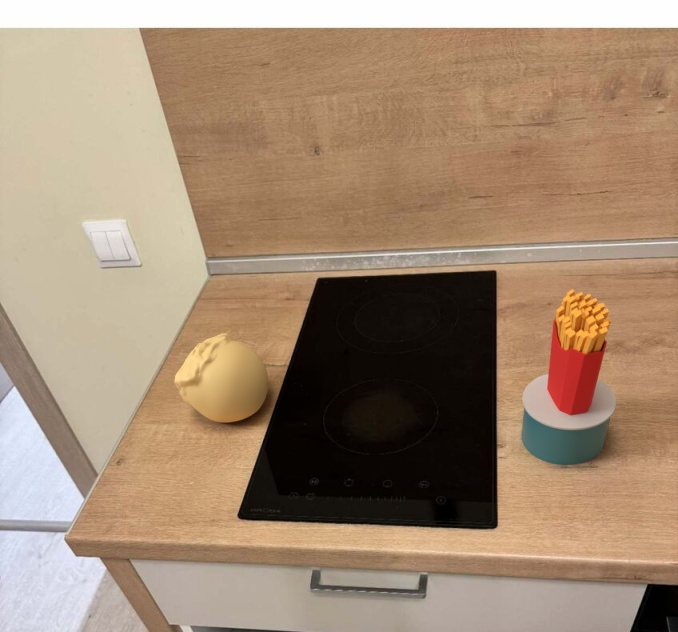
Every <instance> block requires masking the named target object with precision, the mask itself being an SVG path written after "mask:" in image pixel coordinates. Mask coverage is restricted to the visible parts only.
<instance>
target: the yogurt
mask: <svg viewBox="0 0 678 632" xmlns="http://www.w3.org/2000/svg"><path fill="white" fill-rule="evenodd" d="M548 374H549V373H545V374H542V375H540V376H538V377H536V378H534V379H533V380H531V381H530V382H529V383H528V384H527V385H526V386H525V388H524V389H523V392H522V399H521V401H522V406H523V414H522V426H521V435H520V436H521V437H520V439H521V442H522V444H523V446H524V448H525V449H526V450H527V451H528V452H529V453H530V455H532V456H533V457H535V458H537V459H539V460H541V461H543V462H546V463H549V464H552V465H558V466H559V465H560V466H574V465H580V464H583V463H587V462H589V461H591V460H593V459H594V458H596V457H597V456H598V455H600V453H601V452H602V450H603V449H604V446H605V442H606V437H607V434H608V429H609V425H610V420H611V417H612V416H613V414H614V413H615V410H616V407H617V397H616V394H615V393H614V391H613V389H612V388H611V386H609V385H608V384H607V383H606V382H605V381H603V380H601V379H599V378H598V380H597V384H596V388H595V392H594V395H593V399H592V403H591V406H590V408H589V410H588V412H587V413H581V414H576V415H568V414H566V413H564V412H561V411H559V410H558V408H557V407H556V405H555V403H554V402H553V400H552V398H551V396H550V394H549V392H548V390H547V385H548Z"/></svg>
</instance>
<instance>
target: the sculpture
mask: <svg viewBox="0 0 678 632" xmlns="http://www.w3.org/2000/svg"><path fill="white" fill-rule="evenodd" d="M173 381H174V385H175V387H176V388H177V389H178V391H179V395H180V397H182V400H183V402H184V403H187V404H189V405H190V406H191V407H192V408H194V409H195V410H196V411H197V412H198V413H199V414H201V415H202V416H203V417H205V418H206V419H208V420H211V421H213V422H217V423H234V422H239V421H242V420H246V419H247V418H250V417H251V416H253V415H254V414H255V413H257V412H258V411H259V410H260V409H261V408H262V406H263V405H264V402H265V400H266V398H267V395H268V391H269V390H268V389H269V375H268V370H267V367H266V365H265V363H264V361H263V359H262V358H261V356H260V355H259V353H257V351H255V350H254V349H253V348H251V347H250V346H249V345H246V344H245V343H244V342H243V343H242V342H240V341H237V340H234V339H232V337H231V335H230V334H229V333H227V332H222V333H219V334H217V335H215V336H213V337H210V338H206V339H205V340H203V341H201V342H198V343H197V344H196V345H195V346H194V348H193V349H192V350H191V351H190V352H189V354H188V355H187V357H186V358H185V360H184V362H183V364H182V365H181V367H180V368H179V370H178V371H177V372H176V374H175V376H174V380H173Z"/></svg>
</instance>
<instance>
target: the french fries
mask: <svg viewBox="0 0 678 632" xmlns="http://www.w3.org/2000/svg"><path fill="white" fill-rule="evenodd" d="M575 292H576V291H575V290H574V289H573V288H571V289H570V290H569V291H568V292H566V296H565V297H563V298H562V302H561V305H560V306H559V307H558V308H557V309H556V311H555V318H554V320H553V322H552V333H551V342H550V354H549V365H548V373H547V374H548V385H547V390H548V392H549V394H550V396H551V398H552V400H553V402H554V403H555V405H556V407H557V408H558V410H559V411H561V412H564V413H566V414H568V415H576V414H581V413H587V412H588V410H589V408H590V406H591V403H592V399H593V395H594V392H595V388H596V384H597V380H598V379H599V375H600V372H601V367H602V364H603V359H604V355H605V352H606V348H607V343H608V342H607V340H606V338H607V335H608V332H609V328H610V326H611V322H612V319H611V318H610V317H609V313H610V311H609V309H608V308H609V307H608V308H607V307H606V305H605V303H604V302H599V303H598V299H597V297H595V298H592V295H591V293H587V294H586V295H584V293H583V291H580V292H578V293H576V294H575ZM605 307H606V308H605Z"/></svg>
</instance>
